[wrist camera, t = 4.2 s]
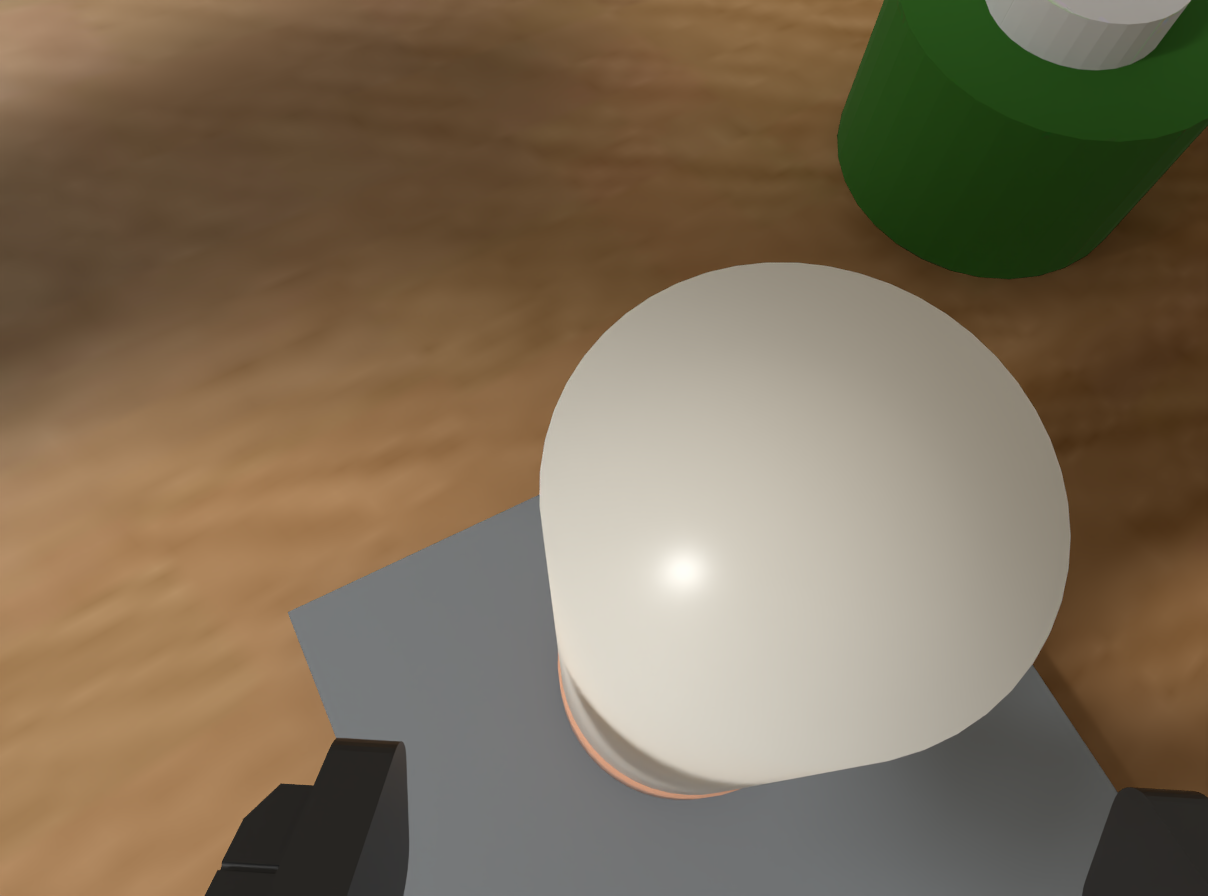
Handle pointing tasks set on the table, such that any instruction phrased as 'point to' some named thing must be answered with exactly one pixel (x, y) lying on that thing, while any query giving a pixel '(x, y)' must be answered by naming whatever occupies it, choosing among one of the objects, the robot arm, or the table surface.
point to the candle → (1019, 124)
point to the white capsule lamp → (792, 531)
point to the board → (646, 823)
